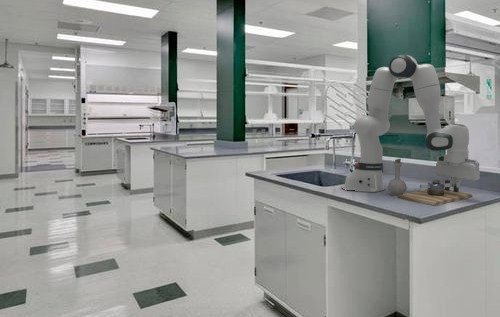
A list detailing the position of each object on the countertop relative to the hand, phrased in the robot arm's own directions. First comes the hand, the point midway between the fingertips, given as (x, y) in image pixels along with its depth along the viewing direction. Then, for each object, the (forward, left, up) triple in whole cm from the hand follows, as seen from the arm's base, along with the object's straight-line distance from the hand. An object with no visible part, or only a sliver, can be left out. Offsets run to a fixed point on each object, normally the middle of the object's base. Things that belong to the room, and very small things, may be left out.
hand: (456, 187), depth 168 cm
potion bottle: (-26, +5, -5) cm, 27 cm away
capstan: (-8, -1, -3) cm, 8 cm away
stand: (-10, -1, -5) cm, 11 cm away
